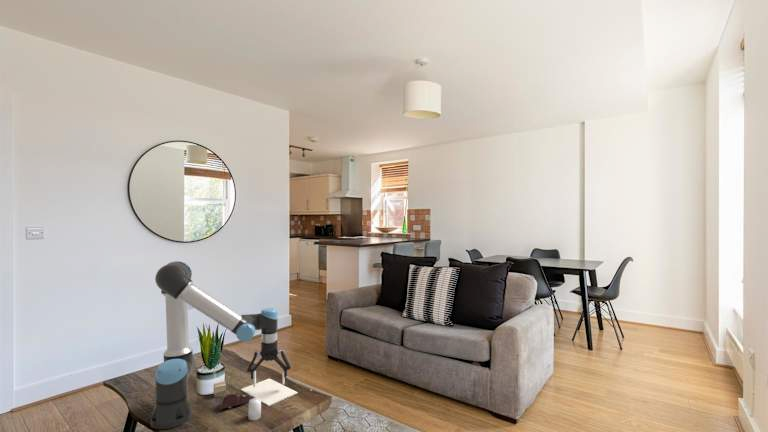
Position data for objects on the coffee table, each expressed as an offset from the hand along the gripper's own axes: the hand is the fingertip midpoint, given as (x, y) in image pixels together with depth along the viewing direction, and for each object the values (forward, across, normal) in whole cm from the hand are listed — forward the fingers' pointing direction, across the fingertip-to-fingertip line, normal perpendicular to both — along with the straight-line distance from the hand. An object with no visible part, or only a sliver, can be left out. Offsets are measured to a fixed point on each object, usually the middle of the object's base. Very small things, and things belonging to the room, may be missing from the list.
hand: (269, 384), depth 183 cm
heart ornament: (+4, +13, +16) cm, 21 cm away
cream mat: (+3, 0, 0) cm, 3 cm away
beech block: (+4, +23, -1) cm, 23 cm away
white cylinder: (+3, +3, +23) cm, 23 cm away
